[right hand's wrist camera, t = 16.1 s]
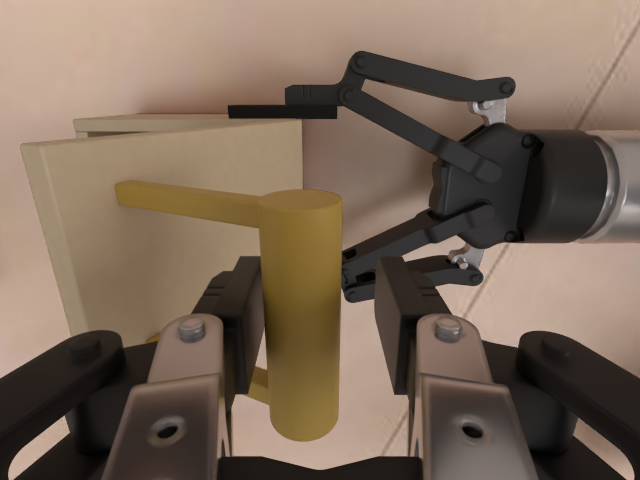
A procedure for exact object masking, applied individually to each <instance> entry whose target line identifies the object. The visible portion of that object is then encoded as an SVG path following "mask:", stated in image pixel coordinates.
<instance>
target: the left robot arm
mask: <svg viewBox="0 0 640 480" xmlns="http://www.w3.org/2000/svg"><path fill="white" fill-rule="evenodd" d="M365 79H369V80H372V81H376V82H380V83H384V84H388V85H392V86H396V87H400V88H404V89H408V90H412V91H416V92H419V93H423V94H427V95H431V96H435V97H439V98H443V99H447V100H451V101H460V102H467V106H468V110H469V111H470V112H471V113H472V114H478V115H480V116H481V117H482V118H483V120H484V124H483V125H481V126H480V127H478V128H477V129H475V130H474V131H472V132H471V133H469V134H468V135H467V136H465V137H464V138H462V139H461V140H459V141H458V142H455V141H453V140H451V139H449V138H447V137H445V136H443V135H441V134H439V133H437V132H435V131H434V130H432V129H430V128H428V127H426V126H425V125H423V124H421V123H419V122H417V121H416V120H414V119H412V118H410V117H408V116H407V115H405V114H403V113H401V112H399V111H398V110H396V109H394V108H392V107H390V106H389V105H387V104H385V103H383V102H381V101H380V100H378V99H376V98H374V97H372V96H371V95H369V94H367V93H365V92H363V91H362V90H361V88H362V86H363V83H364V80H365ZM515 87H516V85H515V82H514V80H513V79H512V78H510V77H501V78H493V79H485V80H478V81H476V80H472V79H469V78H465V77H461V76H457V75H453V74H449V73H446V72H442V71H438V70H434V69H430V68H427V67H423V66H419V65H415V64H411V63H407V62H404V61H400V60H396V59H392V58H388V57H384V56H381V55H377V54H373V53H369V52H365V51H358V52H356V53H355V54H354V55H353V56H352V57H351V58H350V60H349V62H348V65H347V68H346V71H345V74H344V76H343V79H342V80H341V82H339V83H338V84H335V85H292V86H290V87H287V88H285V105H228V116H229V119H282V118H295V119H337V106H345V107H346V108H348V109H350V110H352V111H354V112H356V113H357V114H359V115H361V116H363V117H365V118H367V119H369V120H370V121H372V122H374V123H376V124H378V125H380V126H381V127H383V128H385V129H387V130H389V131H391V132H393V133H394V134H396V135H398V136H400V137H402V138H404V139H405V140H407V141H409V142H411V143H413V144H415V145H416V146H418V147H420V148H422V149H424V150H425V151H427V152H429V153H431V154H433V155H435V156H437V157H438V159H437V161H436V162H433V169H432V176H433V182H434V186H433V188H432V191H431V194H430V198H429V207H430V208H429V209H426V210H424V211H422V212H420V213H418V214H417V215H416V217H415V218H413V219H411V220H409V221H406V222H404V223H402V224H400V225H398V226H396V227H393V228H391V229H389V230H387V231H385V232H383V233H380V234H378V235H376V236H374V237H372V238H370V239H368V240H365V241H363V242H361V243H359V244H357V245H355V246H352V247H350V248H348V249H346V250H344V251H342V269H341V287H342V290H343V292H344V297H345V299H346V300H347V301H348V302H350V303H355V302H360V301H365V300H370V299H375V283H376V268H375V267H376V266H377V258H378V256H402V255H404V254H406V253H409V252H411V251H413V250H415V249H418V248H420V247H422V246H424V245H426V244H429V243H439V242H441V241H443V240H446V239H448V238H450V237H452V236H455V235H457V236H458V237H460V238H461V239H462V240H464V241H465V242H466V245H465V246H464V247H463V248H461V249H458V250H451V251H450V252H449V255H437V256H431V257H426V258H421V259H416V260H412V261H407V262H405V263H406V265H407V267H408V269H409V271H420V272H421V273H423V274H424V275H426V276H427V277H429V278H430V279H431V281H432V282H433V284H434V286H439V285H444V284H449V283H450V284H459V285H468V286H477V285H479V284H480V283H481V282H482V281H483V274H482V273H481V272H480V271H479V266H480V262H481V259H482V256H483V252H484V249H487V248H490V247H492V246H494V245H496V244H499V243H504V242H509V243H569V242H576V243H581V244H585V243H640V130H587V131H585V132H583V131H579V130H518V129H515V128H513V127H512V126H510V125H509V124H507V123H505V122H506V101H507V98H509V97H510V96H511V95H512V94H513V93H514V91H515Z"/></svg>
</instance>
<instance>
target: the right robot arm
mask: <svg viewBox="0 0 640 480" xmlns="http://www.w3.org/2000/svg"><path fill="white" fill-rule="evenodd" d="M374 308H375V319H376V323H377V327H378V331H379V335H380V339H381V343H382V347H383V351H384V355H385V359H386V363H387V367H388V371H389V375H390V379H391V383H392V387H393V391H394V395H407V396H408V399H409V406H408V415H407V456H378V457H374V458H370V459H366V460H362V461H358V462H354V463H350V464H346V465H342V466H338V467H334V468H330V469H325V470H315V469H310V468H306V467H302V466H298V465H294V464H290V463H286V462H282V461H278V460H274V459H270V458H266V457H262V456H233V415H232V404H233V401H234V398H235V394H248V393H249V389H250V384H251V380H252V376H253V372H254V368H255V364H256V360H257V356H258V352H259V347H260V343H261V339H262V335H263V331H264V327H265V323H264V306H263V290H262V273H261V256H240V257H239V259H238V261H237V263H236V265H235V267H234V269H233V271H222V272H221V273H219V274H218V275H216V276H215V277H213V278H212V279H211V281H210V283H209V284H208V286H207V289H205V291H204V293H203V296H201V297H200V299H199V301H198V302H197V304H196V306H195V307H194V309H193V311H192V312H191V314H190V315H186V316H182V317H180V318H177V319H175V320H173V321H171V322H170V323H168V324H167V325H166V326H165V327H164V328H163V329H162V331H161V333H160V337H159V340H158V341H155V342H150V343H146V344H140V345H135V346H130V347H125V348H124V347H123V343H122V338H121V336H120V335H119V334H118V333H117V332H114V331H110V330H95V331H89V332H85V333H81V334H78V335H76V336H73V337H71V338H69V339H67V340H65V341H63V342H61V343H59V344H58V345H56V346H54V347H53V348H51V349H49V350H48V351H46V352H44V353H43V354H41V355H39V356H38V357H36V358H34V359H32V360H31V361H29V362H27V363H26V364H24V365H22V366H21V367H19V368H17V369H16V370H14V371H12V372H11V373H9V374H7V375H5V376H4V377H2V378H0V480H9V478H8V470H9V467H10V464H11V462H12V460H13V459H14V457H15V456H16V454H17V453H18V452H19V451H20V450H21V449H22V448H23V447H24V446H25V445H27V444H28V443H29V442H30V441H32V440H33V439H34V438H36V437H37V436H38V435H39V434H41V433H42V432H43V431H45V430H46V429H47V428H48V427H50V426H51V425H52V424H54V423H55V422H56V421H57V420H59V419H60V418H61V417H63V416H64V415H65V418H66V421H67V424H68V427H69V431H70V433H69V434H68V435H67V436H66V437H64V438H63V439H62V440H61V441H60V442H58V443H57V444H56V445H55V446H54V447H52V448H51V449H50V450H49V451H48V452H46V453H45V454H44V455H43V456H41V457H40V458H39V459H38V460H37V461H35V462H34V463H33V464H32V465H31V466H29V467H28V468H27V469H26V470H25V471H23V472H22V473H21V474H20V475H19V476H17V477H16V478H15V479H14V480H626V479H625V478H624V477H623V476H621V475H620V474H619V473H618V472H617V471H615V470H614V469H613V468H612V467H611V466H609V465H608V464H607V463H606V462H605V461H603V460H602V459H601V458H600V457H599V456H597V455H596V454H595V453H594V452H592V451H591V450H590V449H589V448H588V447H586V446H585V445H584V444H583V443H582V442H580V441H579V440H578V439H577V438H576V437H574V436H573V433H574V430H575V427H576V423H577V420H578V417H579V418H580V419H581V420H583V421H584V422H585V423H586V424H588V425H589V426H590V427H592V428H593V429H594V430H595V431H597V432H598V433H599V434H601V435H602V436H603V437H604V438H606V439H607V440H608V441H610V442H611V443H612V444H613V445H615V446H616V447H617V448H618V449H620V450H621V451H622V452H623V453H624V454H625V456H626V457H627V458H628V460H629V461H630V463H631V465H632V467H633V470H634V475H635V479H634V480H640V378H638V377H636V376H635V375H633V374H631V373H629V372H628V371H626V370H624V369H623V368H621V367H619V366H618V365H616V364H614V363H613V362H611V361H609V360H608V359H606V358H604V357H602V356H601V355H599V354H597V353H596V352H594V351H592V350H591V349H589V348H587V347H586V346H584V345H582V344H581V343H579V342H577V341H575V340H573V339H571V338H569V337H566V336H563V335H560V334H557V333H553V332H547V331H531V332H527V333H525V334H523V335H522V336H521V337H520V341H519V345H518V348H516V347H511V346H506V345H501V344H495V343H491V342H487V341H484V340H481V337H480V333H479V331H478V329H477V328H476V327H475V326H474V325H473V324H472V323H470V322H469V321H467V320H465V319H463V318H460V317H458V316H454V315H452V313H451V312H450V310H449V309H448V307H447V305H446V304H445V302H444V300H443V299H442V297H441V296H440V294H439V292H438V291H437V289H435V286H434V284H433V282H432V281H431V279H430V278H429V277H427V276H426V275H424V274H423V273H421V272H420V271H409V269H408V267H407V265H406V263H405V261H404V259H403V257H402V256H378V258H377V266H376V283H375V301H374Z"/></svg>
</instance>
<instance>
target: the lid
mask: <svg viewBox="0 0 640 480" xmlns="http://www.w3.org/2000/svg"><path fill="white" fill-rule="evenodd" d="M20 149H21V153H22V156H23V160H24V164H25V167H26V171H27V175H28V178H29V182H30V186H31V189H32V193H33V197H34V200H35V204H36V208H37V211H38V215H39V219H40V222H41V226H42V230H43V233H44V237H45V241H46V244H47V248H48V252H49V255H50V259H51V263H52V266H53V270H54V274H55V278H56V281H57V285H58V289H59V292H60V296H61V300H62V303H63V307H64V311H65V314H66V318H67V322H68V325H69V329H70V333H71V336H72V337H73V336H76V335H78V334H81V333H85V332H89V331H95V330H110V331H114V332H117V333H118V334H119V335H120V336H121V338H122V343H123V347H124V348H125V347H130V346H135V345H140V344H146V343H150V342H155V341H158V340H159V337H160V333H161V331H162V329H163V328H164V327H165V326H166V325H167V324H168V323H170V322H171V321H173V320H175V319H177V318H180V317H182V316H186V315H190V314H191V312H192V311H193V309H194V307H195V306H196V304H197V302H198V301H199V299H200V297H201V296H203V293H204V291H205V289H207V286H208V284H209V283H210V281H211V279H212V278H213V277H215V276H216V275H218V274H219V273H221V272H222V271H233V269H234V267H235V265H236V263H237V261H238V259H239V257H240V256H261V273H262V290H263V306H264V323H265V339H266V356H267V370H265V369H262V368H259V367H256V366H255V368H254V372H253V376H252V380H251V384H250V389H249V393H248V394H243V395H245V396H248V397H250V398H253V399H255V400H258V401H260V402H263V403H265V404H268V405H269V406H270V419H271V423H272V425H273V427H274V428H275V430H276V431H277V432H278V433H279V434H281V435H282V436H283V437H285V438H287V439H290V440H294V441H312V440H316V439H319V438H321V437H323V436H325V435H326V434H327V433H329V432H330V431H331V430H332V429H333V427H334V426H335V424H336V422H337V419H338V408H339V362H340V315H341V269H342V222H343V200H342V198H341V197H340V196H339V195H337V194H334V193H331V192H327V191H321V190H310V189H303V163H302V121H301V120H278V121H267V122H256V123H245V124H234V125H223V126H211V127H200V128H189V129H178V130H167V131H156V132H145V133H134V134H123V135H112V136H101V137H90V138H79V139H68V140H56V141H45V142H34V143H23V144H21V145H20Z"/></svg>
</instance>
